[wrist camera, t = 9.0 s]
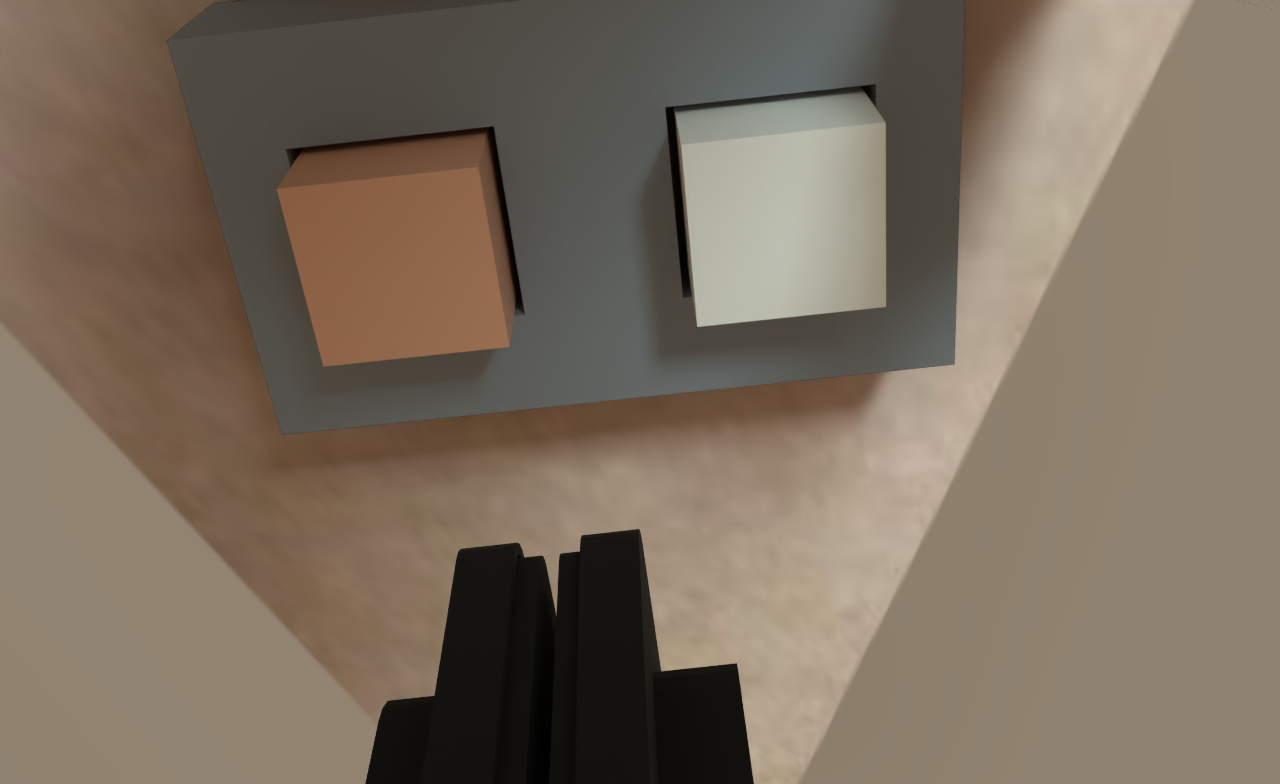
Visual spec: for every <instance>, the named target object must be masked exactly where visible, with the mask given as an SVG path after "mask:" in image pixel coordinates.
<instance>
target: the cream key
mask: <svg viewBox="0 0 1280 784" xmlns="http://www.w3.org/2000/svg"><path fill="white" fill-rule="evenodd" d="M673 115H674V126H675V137H676V148H677V159H678V170H679V181H680V192H681V203H682V214H683V226H684V237H685V248H686V259H687V267H688V273H689V279H690V285H691V291H692V298H693V304H694V310H695V316H696V322H697V327H702V326H711V325H720V324H730V323H739V322H749V321H758V320H768V319H777V318H786V317H796V316H805V315H815V314H824V313H834V312H843V311H852V310H862V309H871V308H881V307H886V122H885V121H884V119H883V118H882V116H881V115H880V113H879V112H878V111H877V109H876V108H875V106H874V105H873V103H872V102H871V100H870V99H869V97H868V96H867V94H866V93H865V92H864V90H863V89H862V87H861V86H854V87H845V88H836V89H827V90H818V91H809V92H800V93H791V94H782V95H773V96H764V97H755V98H745V99H736V100H727V101H718V102H709V103H700V104H691V105H682V106H673Z"/></svg>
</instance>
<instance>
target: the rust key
mask: <svg viewBox="0 0 1280 784" xmlns="http://www.w3.org/2000/svg"><path fill="white" fill-rule="evenodd" d="M277 192H278V196H279V199H280V203H281V207H282V211H283V215H284V218H285V222H286V226H287V230H288V234H289V237H290V241H291V245H292V249H293V253H294V257H295V260H296V264H297V268H298V272H299V276H300V279H301V283H302V287H303V291H304V295H305V298H306V302H307V306H308V310H309V314H310V317H311V321H312V325H313V329H314V333H315V336H316V340H317V344H318V348H319V352H320V355H321V359H322V363H323V367H325V366H334V365H344V364H353V363H363V362H372V361H382V360H391V359H400V358H410V357H419V356H429V355H438V354H448V353H457V352H466V351H476V350H485V349H495V348H504V347H510V341H511V333H512V326H513V318H514V310H515V303H516V295H517V287H518V277H517V271H516V265H515V259H514V253H513V247H512V241H511V235H510V229H509V223H508V217H507V211H506V205H505V199H504V193H503V187H502V181H501V175H500V169H499V163H498V157H497V151H496V145H495V139H494V133H493V127H492V126H491V127H482V128H473V129H464V130H455V131H446V132H437V133H428V134H419V135H410V136H400V137H391V138H382V139H373V140H364V141H355V142H346V143H337V144H328V145H319V146H310V147H304V148H303V149H302V151H301V152H300V154H299V156H298V157H297V159H296V160H295V162H294V163H293V165H292V166H291V168H290V169H289V171H288V173H287V174H286V176H285V177H284V179H283V180H282V182H281V183H280V185H279V186H278V188H277Z"/></svg>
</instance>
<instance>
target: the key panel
mask: <svg viewBox="0 0 1280 784" xmlns="http://www.w3.org/2000/svg"><path fill="white" fill-rule="evenodd" d="M964 21H965V0H244V1H235V2H226V3H217V4H211V5H210V6H209V7H208V8H206V9H205V10H204V11H203V12H201V13H200V14H199V15H198V16H196V17H195V18H194V19H193V20H191V21H190V22H189V23H188V24H186V25H185V26H184V27H183V28H181V29H180V30H179V31H178V32H176V33H175V34H174V35H173V36H171V37H170V38H169V39H168V40H167V44H168V47H169V50H170V54H171V57H172V61H173V64H174V68H175V71H176V74H177V78H178V81H179V85H180V88H181V92H182V95H183V98H184V102H185V105H186V109H187V112H188V116H189V119H190V122H191V126H192V129H193V133H194V136H195V140H196V143H197V146H198V150H199V153H200V157H201V160H202V164H203V167H204V170H205V174H206V177H207V181H208V184H209V188H210V191H211V194H212V198H213V201H214V205H215V208H216V212H217V215H218V218H219V222H220V225H221V229H222V232H223V236H224V239H225V242H226V246H227V249H228V253H229V256H230V260H231V263H232V266H233V270H234V273H235V277H236V280H237V284H238V287H239V290H240V294H241V297H242V301H243V304H244V308H245V311H246V315H247V318H248V321H249V325H250V328H251V332H252V335H253V339H254V342H255V345H256V349H257V352H258V356H259V359H260V363H261V366H262V369H263V373H264V376H265V380H266V383H267V387H268V390H269V393H270V397H271V400H272V404H273V407H274V411H275V414H276V417H277V421H278V424H279V428H280V431H281V435H287V434H296V433H306V432H316V431H325V430H335V429H344V428H354V427H363V426H373V425H382V424H392V423H401V422H411V421H420V420H430V419H440V418H449V417H459V416H468V415H478V414H487V413H497V412H506V411H516V410H525V409H535V408H544V407H554V406H563V405H573V404H583V403H592V402H602V401H611V400H621V399H630V398H640V397H649V396H659V395H668V394H678V393H687V392H697V391H706V390H716V389H726V388H735V387H745V386H754V385H764V384H773V383H783V382H792V381H802V380H811V379H821V378H830V377H840V376H849V375H859V374H869V373H878V372H888V371H897V370H907V369H916V368H926V367H935V366H945V365H954V364H955V331H956V296H957V262H958V227H959V193H960V159H961V124H962V90H963V55H964ZM854 86H861V87H862V89H863V90H864V92H865V93H866V94H867V96H868V97H869V99H870V100H871V102H872V103H873V105H874V106H875V108H876V109H877V111H878V112H879V113H880V115H881V116H882V118H883V119H884V121H885V122H886V307H881V308H871V309H862V310H852V311H843V312H834V313H824V314H815V315H805V316H796V317H786V318H777V319H768V320H758V321H749V322H739V323H730V324H720V325H711V326H702V327H697V322H696V316H695V310H694V304H693V298H692V291H691V285H690V279H689V273H688V267H687V259H686V248H685V237H684V226H683V214H682V203H681V192H680V181H679V170H678V159H677V148H676V137H675V126H674V115H673V106H682V105H691V104H700V103H709V102H718V101H727V100H736V99H745V98H755V97H764V96H773V95H782V94H791V93H800V92H809V91H818V90H827V89H836V88H845V87H854ZM491 126H492V127H493V133H494V139H495V145H496V151H497V157H498V163H499V169H500V175H501V181H502V187H503V193H504V199H505V205H506V211H507V217H508V223H509V229H510V235H511V241H512V247H513V253H514V259H515V265H516V271H517V277H518V287H517V295H516V303H515V310H514V318H513V326H512V333H511V341H510V347H504V348H495V349H485V350H476V351H466V352H457V353H448V354H438V355H429V356H419V357H410V358H400V359H391V360H382V361H372V362H363V363H353V364H344V365H334V366H325V367H323V363H322V359H321V355H320V352H319V348H318V344H317V340H316V336H315V333H314V329H313V325H312V321H311V317H310V314H309V310H308V306H307V302H306V298H305V295H304V291H303V287H302V283H301V279H300V276H299V272H298V268H297V264H296V260H295V257H294V253H293V249H292V245H291V241H290V237H289V234H288V230H287V226H286V222H285V218H284V215H283V211H282V207H281V203H280V199H279V196H278V192H277V188H278V186H279V185H280V183H281V182H282V180H283V179H284V177H285V176H286V174H287V173H288V171H289V169H290V168H291V166H292V165H293V163H294V162H295V160H296V159H297V157H298V156H299V154H300V152H301V151H302V149H303V148H304V147H310V146H319V145H328V144H337V143H346V142H355V141H364V140H373V139H382V138H391V137H400V136H410V135H419V134H428V133H437V132H446V131H455V130H464V129H473V128H482V127H491Z"/></svg>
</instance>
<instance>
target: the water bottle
mask: <svg viewBox="0 0 1280 784" xmlns="http://www.w3.org/2000/svg"><path fill="white" fill-rule="evenodd" d="M1238 1H1241V2H1244V3H1248V4H1253V5H1257V6H1261V7H1266V8H1270V9H1280V0H1238Z"/></svg>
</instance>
